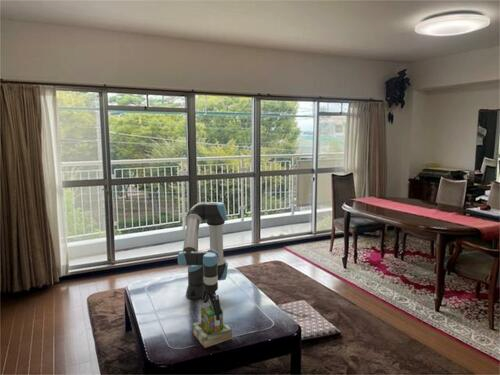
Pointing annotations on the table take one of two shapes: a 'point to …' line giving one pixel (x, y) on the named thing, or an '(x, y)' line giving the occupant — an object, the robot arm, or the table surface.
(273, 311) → the table surface
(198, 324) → the rectangular frame
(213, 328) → the chalk box
